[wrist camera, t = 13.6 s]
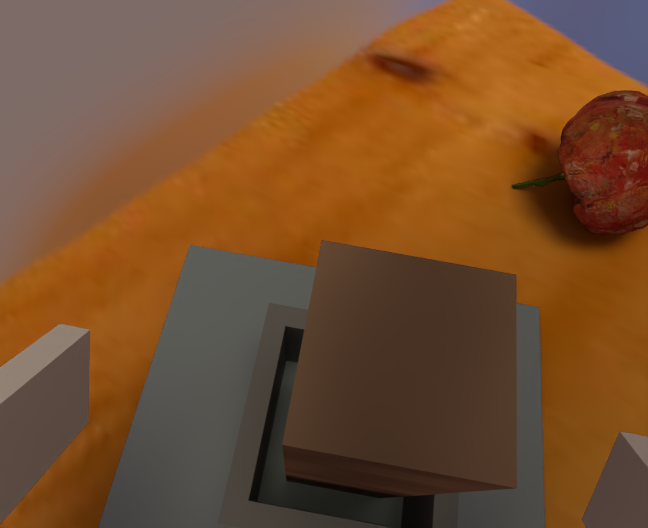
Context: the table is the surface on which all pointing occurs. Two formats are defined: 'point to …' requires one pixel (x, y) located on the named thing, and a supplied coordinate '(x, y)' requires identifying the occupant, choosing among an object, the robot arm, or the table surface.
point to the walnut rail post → (404, 377)
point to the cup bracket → (275, 418)
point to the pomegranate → (606, 163)
